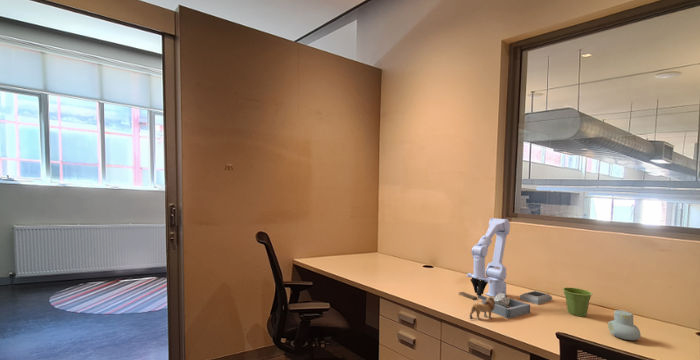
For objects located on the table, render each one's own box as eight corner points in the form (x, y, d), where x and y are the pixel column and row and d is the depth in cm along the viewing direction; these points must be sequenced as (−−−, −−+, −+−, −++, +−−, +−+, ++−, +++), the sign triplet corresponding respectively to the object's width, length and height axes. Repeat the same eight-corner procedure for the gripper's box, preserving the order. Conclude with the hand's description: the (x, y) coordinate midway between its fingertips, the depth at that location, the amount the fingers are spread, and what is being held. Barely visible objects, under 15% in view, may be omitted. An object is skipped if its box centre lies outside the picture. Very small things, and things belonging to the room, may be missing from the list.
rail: (462, 293, 178) (462, 291, 178) (477, 299, 169) (477, 296, 169) (458, 294, 177) (459, 292, 177) (473, 299, 168) (473, 297, 168)
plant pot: (557, 311, 154) (557, 288, 155) (572, 308, 159) (572, 286, 159) (582, 320, 143) (582, 295, 144) (598, 317, 148) (597, 293, 149)
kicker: (483, 297, 170) (483, 284, 171) (501, 304, 161) (502, 289, 161) (470, 300, 165) (470, 286, 165) (488, 307, 155) (488, 292, 156)
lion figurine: (488, 313, 148) (488, 294, 148) (498, 317, 143) (498, 298, 144) (465, 318, 142) (466, 298, 142) (475, 322, 137) (475, 301, 137)
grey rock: (505, 317, 154) (516, 305, 149) (488, 309, 155) (499, 297, 150) (503, 303, 161) (514, 291, 156) (487, 296, 162) (497, 284, 157)
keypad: (520, 293, 172) (534, 289, 180) (520, 300, 172) (534, 296, 180) (538, 298, 164) (552, 294, 172) (537, 305, 163) (552, 301, 171)
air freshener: (642, 345, 120) (642, 319, 120) (615, 340, 123) (615, 315, 124) (631, 334, 130) (631, 310, 130) (606, 330, 133) (606, 306, 134)
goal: (503, 303, 163) (503, 296, 163) (530, 312, 151) (530, 304, 151) (482, 308, 155) (482, 300, 155) (508, 318, 143) (508, 309, 143)
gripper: (463, 265, 172) (462, 290, 171) (485, 271, 159) (485, 298, 159) (471, 264, 175) (471, 288, 175) (494, 270, 163) (494, 296, 162)
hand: (478, 293), depth 167 cm, fingers closed on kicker, 2 cm apart
